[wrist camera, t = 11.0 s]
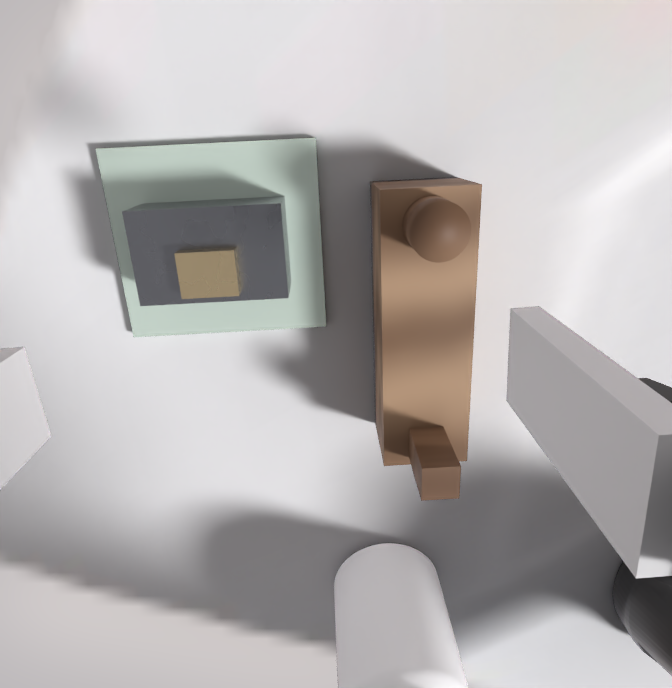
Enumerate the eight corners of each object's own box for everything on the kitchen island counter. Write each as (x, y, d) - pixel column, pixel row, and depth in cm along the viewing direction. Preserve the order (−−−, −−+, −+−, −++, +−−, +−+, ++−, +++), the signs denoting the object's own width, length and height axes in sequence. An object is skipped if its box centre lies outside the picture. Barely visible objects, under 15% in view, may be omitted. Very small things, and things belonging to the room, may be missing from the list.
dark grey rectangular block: (291, 281, 32) (287, 302, 28) (158, 288, 31) (135, 311, 27) (284, 196, 30) (279, 205, 26) (143, 203, 30) (116, 213, 26)
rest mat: (326, 323, 33) (326, 326, 33) (136, 333, 33) (133, 337, 33) (315, 137, 29) (315, 137, 29) (99, 148, 29) (95, 148, 28)
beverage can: (317, 599, 42) (318, 767, 31) (359, 524, 39) (376, 677, 28) (408, 626, 43) (440, 795, 32) (453, 554, 41) (506, 712, 30)
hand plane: (447, 419, 36) (486, 504, 28) (375, 423, 36) (393, 510, 28) (456, 177, 30) (509, 192, 22) (370, 181, 30) (390, 198, 22)
